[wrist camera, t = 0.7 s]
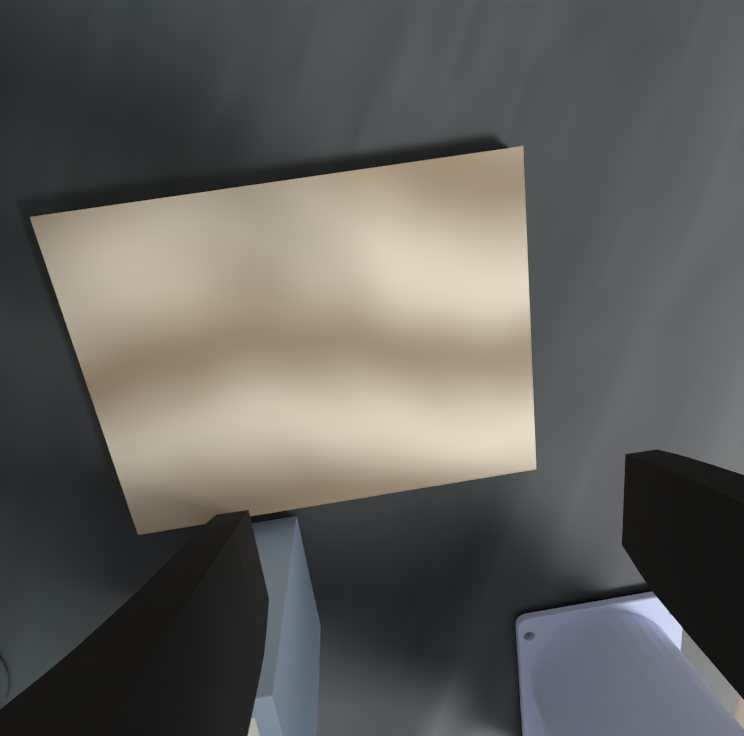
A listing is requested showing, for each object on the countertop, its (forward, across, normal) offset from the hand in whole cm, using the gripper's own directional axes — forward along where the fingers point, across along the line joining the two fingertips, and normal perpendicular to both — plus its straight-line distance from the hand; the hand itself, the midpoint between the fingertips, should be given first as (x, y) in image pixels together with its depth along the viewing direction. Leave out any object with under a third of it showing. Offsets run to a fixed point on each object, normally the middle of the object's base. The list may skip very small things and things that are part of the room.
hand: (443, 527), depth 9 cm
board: (+10, +3, -1) cm, 10 cm away
